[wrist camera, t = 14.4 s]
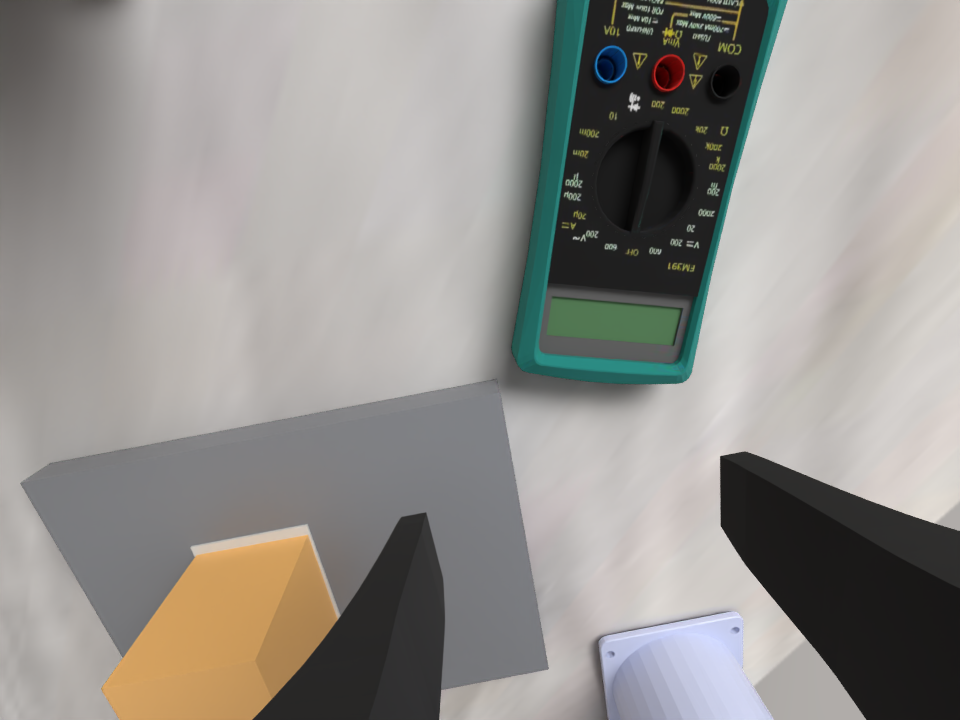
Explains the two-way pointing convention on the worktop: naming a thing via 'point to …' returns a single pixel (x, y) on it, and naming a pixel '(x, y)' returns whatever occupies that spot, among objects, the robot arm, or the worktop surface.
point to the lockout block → (226, 635)
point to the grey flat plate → (314, 515)
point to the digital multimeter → (637, 182)
